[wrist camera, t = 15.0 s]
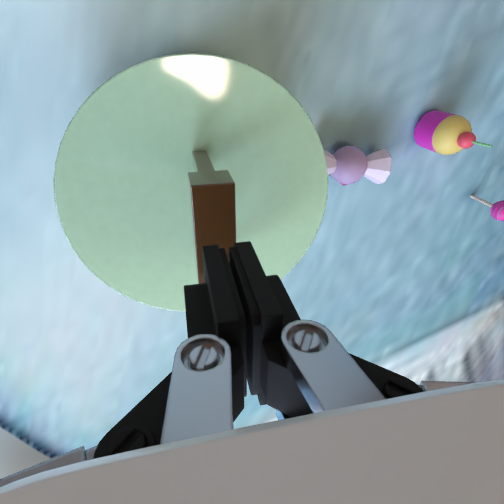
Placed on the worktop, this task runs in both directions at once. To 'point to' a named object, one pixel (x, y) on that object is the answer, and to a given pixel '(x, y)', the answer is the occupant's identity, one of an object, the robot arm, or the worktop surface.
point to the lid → (188, 174)
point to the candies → (426, 135)
